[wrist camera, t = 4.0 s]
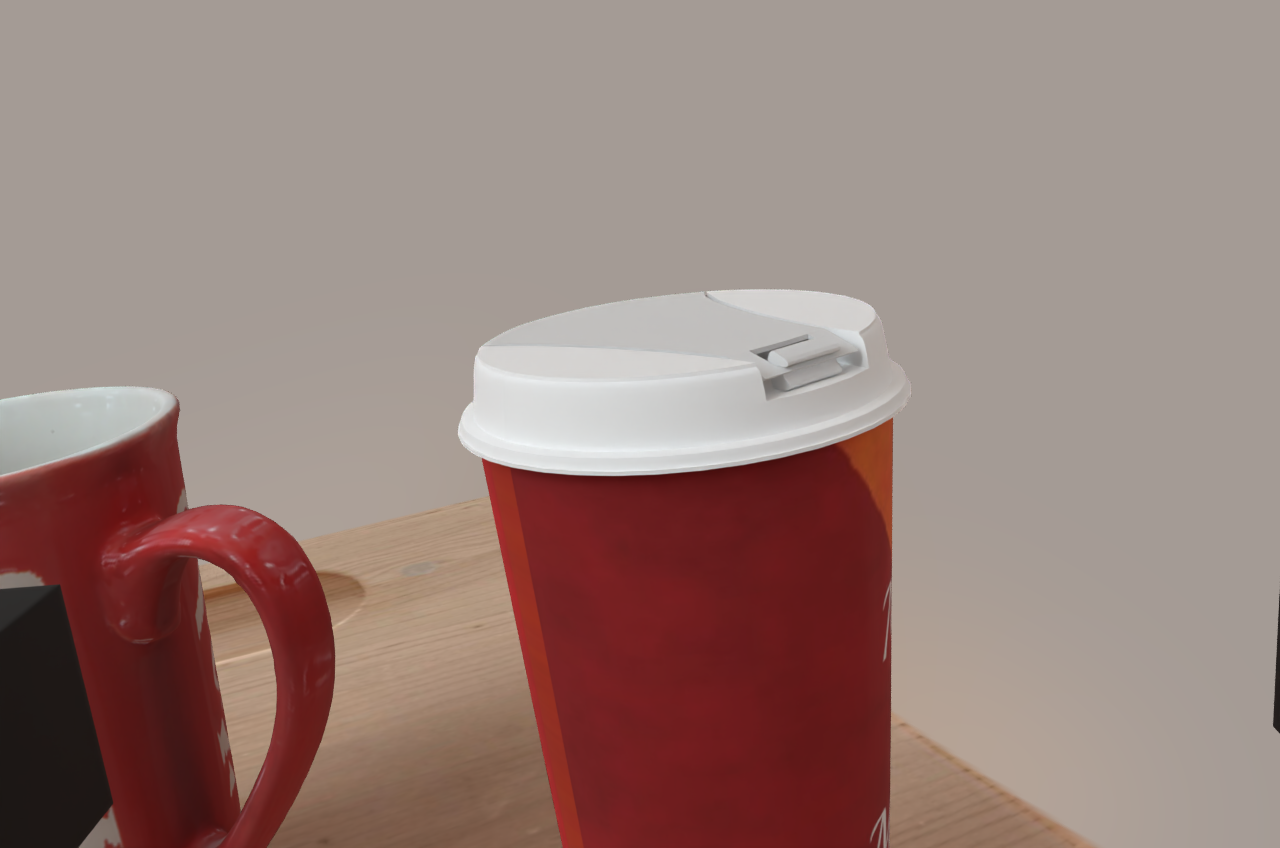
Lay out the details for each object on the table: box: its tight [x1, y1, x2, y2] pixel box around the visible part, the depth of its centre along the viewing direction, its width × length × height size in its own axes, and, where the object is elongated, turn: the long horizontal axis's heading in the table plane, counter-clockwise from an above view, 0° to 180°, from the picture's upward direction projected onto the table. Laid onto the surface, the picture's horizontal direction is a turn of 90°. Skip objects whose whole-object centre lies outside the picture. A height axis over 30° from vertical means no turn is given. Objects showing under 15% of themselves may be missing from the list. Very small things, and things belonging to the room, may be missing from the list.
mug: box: [0, 386, 335, 848], centre depth 27 cm, size 13×9×14 cm
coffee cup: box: [458, 289, 912, 848], centre depth 24 cm, size 8×8×15 cm
